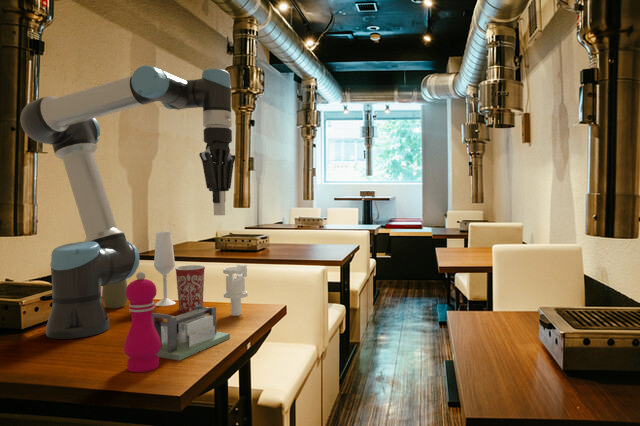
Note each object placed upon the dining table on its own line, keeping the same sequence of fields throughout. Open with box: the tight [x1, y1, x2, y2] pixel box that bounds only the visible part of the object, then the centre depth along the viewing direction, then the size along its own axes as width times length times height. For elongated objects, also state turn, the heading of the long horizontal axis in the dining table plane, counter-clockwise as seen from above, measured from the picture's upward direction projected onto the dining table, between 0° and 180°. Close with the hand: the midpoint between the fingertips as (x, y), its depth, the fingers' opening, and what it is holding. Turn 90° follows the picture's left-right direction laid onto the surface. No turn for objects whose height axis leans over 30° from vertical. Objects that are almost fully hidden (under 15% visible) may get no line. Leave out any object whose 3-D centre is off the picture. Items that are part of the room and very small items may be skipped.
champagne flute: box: [153, 230, 177, 307], centre depth 162 cm, size 7×7×24 cm
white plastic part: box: [222, 264, 248, 317], centre depth 146 cm, size 7×7×15 cm
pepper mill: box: [123, 271, 161, 373], centre depth 101 cm, size 7×7×20 cm
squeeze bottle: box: [101, 279, 128, 309], centre depth 159 cm, size 8×8×18 cm
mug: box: [174, 264, 206, 313], centre depth 155 cm, size 13×9×14 cm
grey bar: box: [159, 306, 210, 327], centre depth 116 cm, size 15×3×2 cm, turn 154°
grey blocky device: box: [152, 305, 217, 353], centre depth 115 cm, size 16×9×8 cm, turn 154°
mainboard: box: [156, 331, 231, 361], centre depth 116 cm, size 18×11×1 cm, turn 154°
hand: (219, 215), depth 133 cm, fingers closed
